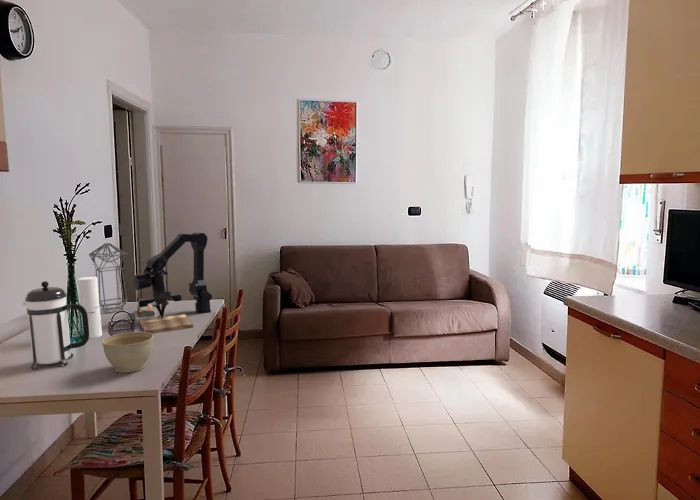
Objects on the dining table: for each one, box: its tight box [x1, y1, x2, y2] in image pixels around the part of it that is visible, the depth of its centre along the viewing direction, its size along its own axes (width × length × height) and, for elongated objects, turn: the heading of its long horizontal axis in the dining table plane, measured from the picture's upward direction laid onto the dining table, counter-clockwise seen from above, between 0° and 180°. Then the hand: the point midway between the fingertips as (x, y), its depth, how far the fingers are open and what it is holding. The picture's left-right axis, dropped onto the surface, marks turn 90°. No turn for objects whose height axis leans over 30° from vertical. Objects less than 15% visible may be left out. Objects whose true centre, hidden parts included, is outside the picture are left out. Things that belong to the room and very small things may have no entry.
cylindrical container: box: [77, 276, 103, 339], centre depth 216 cm, size 7×7×25 cm
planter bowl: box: [101, 331, 154, 374], centre depth 176 cm, size 16×16×11 cm
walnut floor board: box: [141, 316, 194, 334], centre depth 229 cm, size 20×14×2 cm
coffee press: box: [21, 281, 90, 371], centre depth 183 cm, size 17×16×30 cm
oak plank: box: [139, 313, 188, 326], centre depth 239 cm, size 20×7×2 cm, turn 117°
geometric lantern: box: [88, 242, 129, 314], centre depth 261 cm, size 16×16×35 cm
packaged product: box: [133, 303, 159, 322], centre depth 251 cm, size 18×5×10 cm
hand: (162, 317), depth 240 cm, fingers closed, pressing on oak plank
